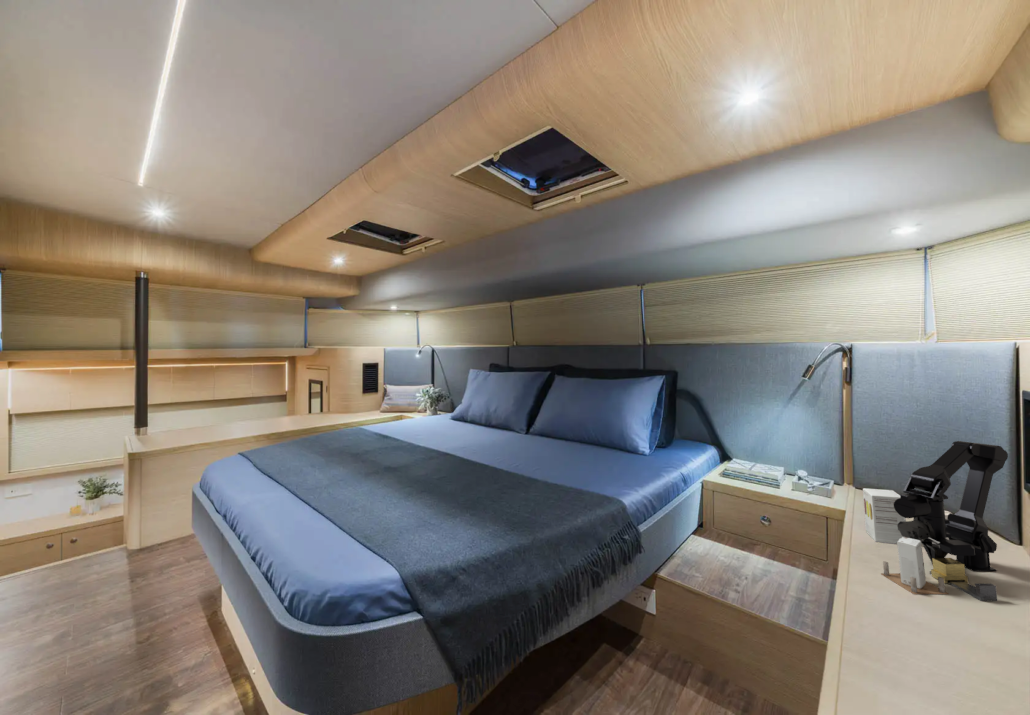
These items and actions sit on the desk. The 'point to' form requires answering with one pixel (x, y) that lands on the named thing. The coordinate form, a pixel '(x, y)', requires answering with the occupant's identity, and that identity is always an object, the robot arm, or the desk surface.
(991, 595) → the rail
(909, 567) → the skincare box
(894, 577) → the peg cradle
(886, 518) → the supplement box
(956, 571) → the collar
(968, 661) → the desk surface
